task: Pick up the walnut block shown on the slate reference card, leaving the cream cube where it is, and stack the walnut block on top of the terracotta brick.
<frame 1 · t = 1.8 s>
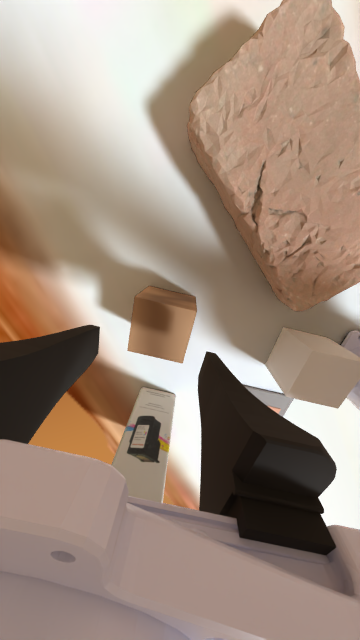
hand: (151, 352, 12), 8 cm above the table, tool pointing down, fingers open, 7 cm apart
cream cube: (294, 351, 20), on the table
brick: (275, 201, 15), on the table
ink box: (154, 411, 25), on the table
walnut block: (167, 313, 19), on the table
reference card: (251, 418, 24), on the table
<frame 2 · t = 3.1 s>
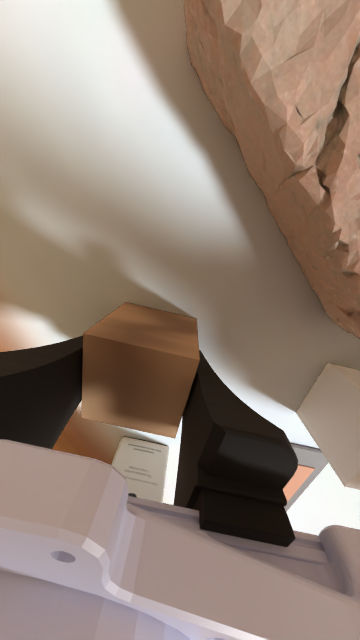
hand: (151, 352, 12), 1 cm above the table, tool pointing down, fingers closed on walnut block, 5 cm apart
cream cube: (340, 395, 14), on the table
brick: (335, 162, 9), on the table
ink box: (141, 464, 18), on the table
walnut block: (155, 341, 13), on the table, touching gripper
reference card: (271, 476, 17), on the table
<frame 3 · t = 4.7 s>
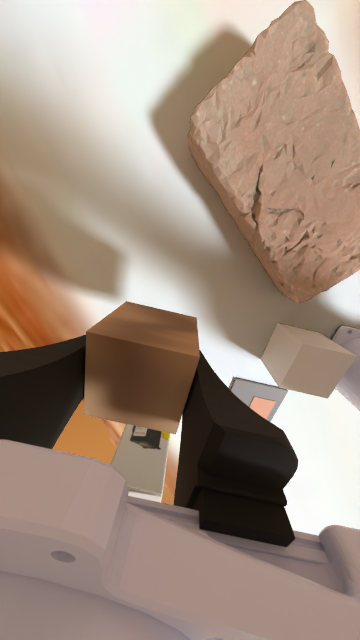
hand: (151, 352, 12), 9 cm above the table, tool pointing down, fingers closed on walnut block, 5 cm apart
cream cube: (288, 346, 21), on the table
brick: (273, 200, 16), on the table
ink box: (155, 405, 26), on the table
walnut block: (155, 340, 13), point 8 cm above the table, touching gripper
reference card: (247, 411, 25), on the table
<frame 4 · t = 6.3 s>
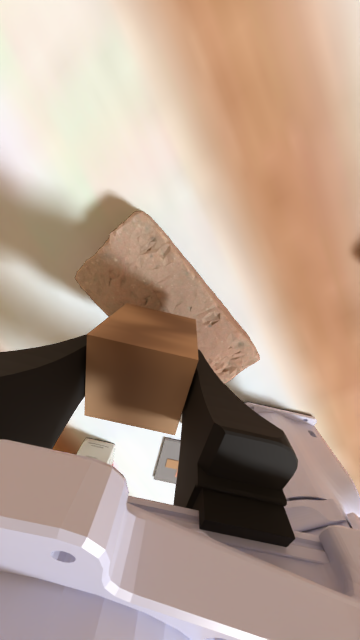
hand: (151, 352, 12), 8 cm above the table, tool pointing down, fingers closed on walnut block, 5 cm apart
brick: (174, 306, 19), on the table
ink box: (100, 456, 29), on the table
walnut block: (155, 341, 13), point 6 cm above the table, touching gripper
reference card: (180, 463, 28), on the table
when the fingers open (7 cm above the table, at t = 6.9 s): walnut block drops 1 cm, resting on brick.
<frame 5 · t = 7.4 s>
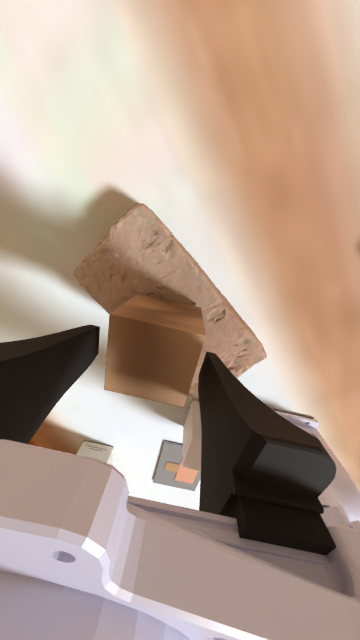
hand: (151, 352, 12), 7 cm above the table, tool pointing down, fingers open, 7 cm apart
cream cube: (205, 417, 23), on the table
brick: (176, 303, 19), on the table, touching walnut block
ink box: (98, 458, 28), on the table
walnut block: (163, 329, 14), point 4 cm above the table, touching brick
reference card: (180, 466, 27), on the table
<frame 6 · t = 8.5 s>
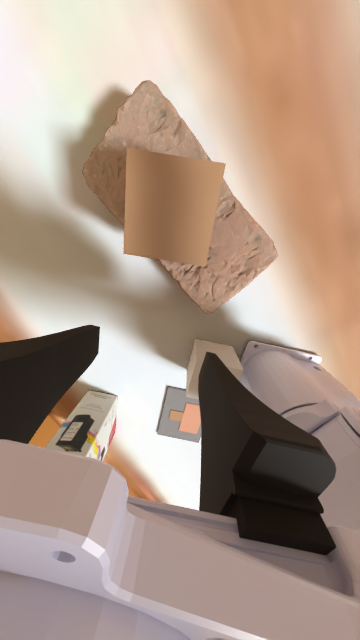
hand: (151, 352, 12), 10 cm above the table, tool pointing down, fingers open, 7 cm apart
cream cube: (209, 358, 24), on the table
brick: (184, 224, 18), on the table, touching walnut block
ink box: (102, 411, 28), on the table
walnut block: (176, 226, 14), point 4 cm above the table, touching brick
reference card: (184, 415, 27), on the table
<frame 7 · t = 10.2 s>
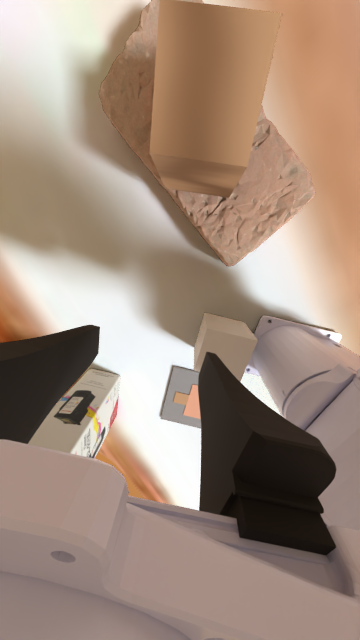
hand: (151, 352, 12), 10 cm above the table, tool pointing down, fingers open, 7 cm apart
cream cube: (218, 335, 22), on the table
brick: (204, 172, 17), on the table, touching walnut block
ink box: (104, 392, 27), on the table
walnut block: (203, 152, 13), point 4 cm above the table, touching brick
reference card: (189, 398, 26), on the table
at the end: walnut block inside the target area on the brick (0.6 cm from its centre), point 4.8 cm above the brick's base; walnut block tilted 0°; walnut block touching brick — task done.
